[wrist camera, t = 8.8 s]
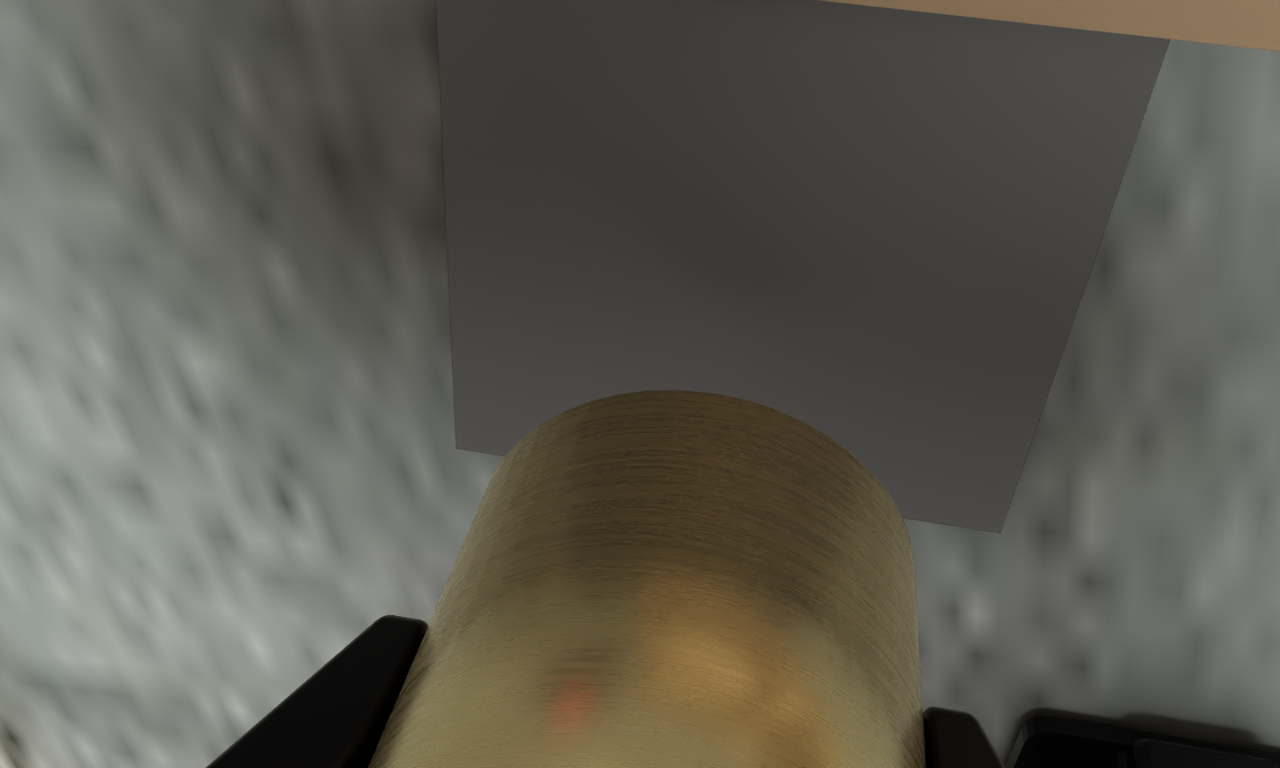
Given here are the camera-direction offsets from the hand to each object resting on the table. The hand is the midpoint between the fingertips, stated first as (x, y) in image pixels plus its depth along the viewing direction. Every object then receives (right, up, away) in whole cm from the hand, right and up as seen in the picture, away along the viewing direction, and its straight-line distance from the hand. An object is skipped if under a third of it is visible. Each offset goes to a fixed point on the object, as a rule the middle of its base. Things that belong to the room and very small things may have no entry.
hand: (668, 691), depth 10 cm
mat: (+2, +5, +8) cm, 9 cm away
